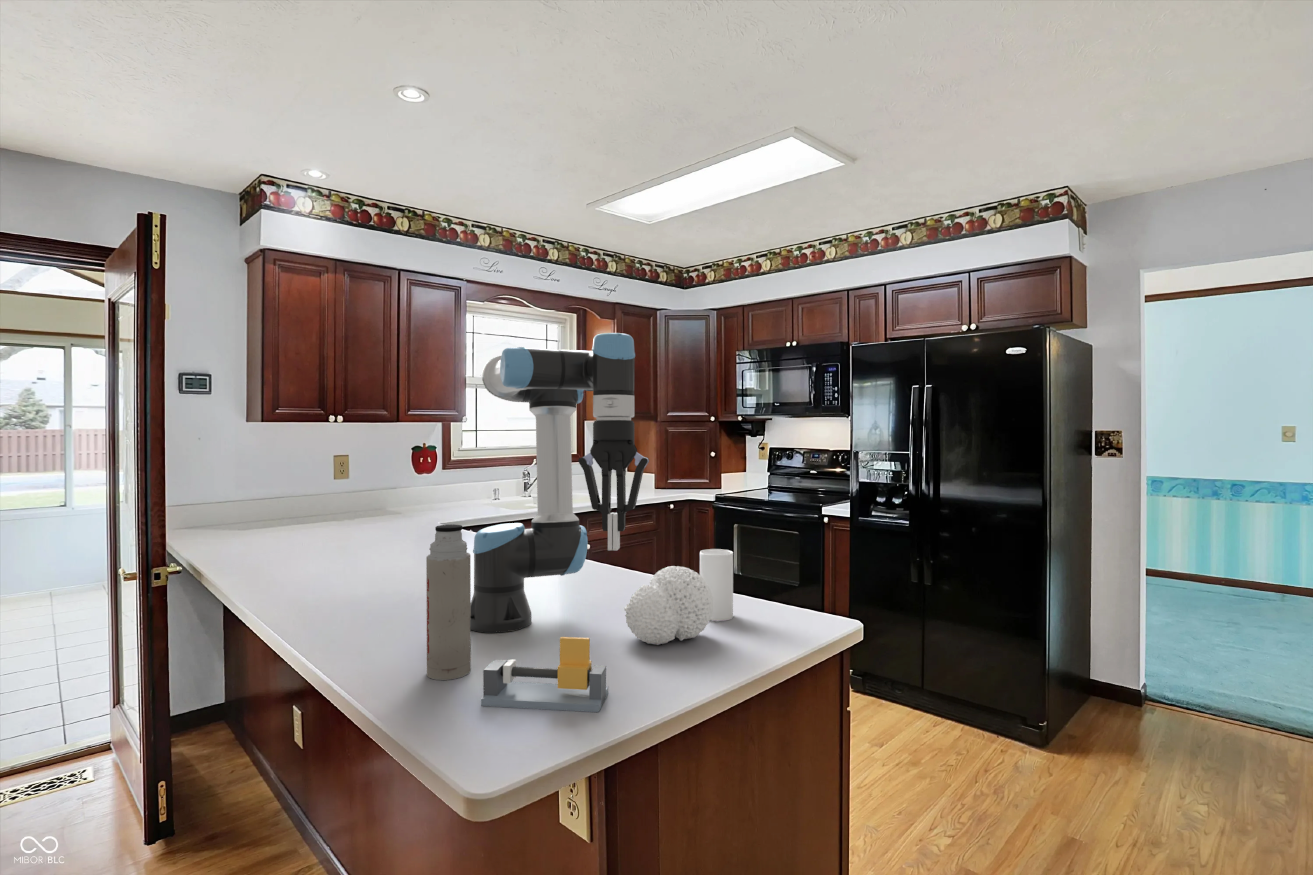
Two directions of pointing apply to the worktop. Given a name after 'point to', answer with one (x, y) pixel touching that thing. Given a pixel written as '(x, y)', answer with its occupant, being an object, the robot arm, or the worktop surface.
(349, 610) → the worktop surface
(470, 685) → the worktop surface
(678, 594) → the white coral
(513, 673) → the rail rig
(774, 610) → the worktop surface
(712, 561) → the cup
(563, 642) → the yellow sliding carriage
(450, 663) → the thermos bottle
